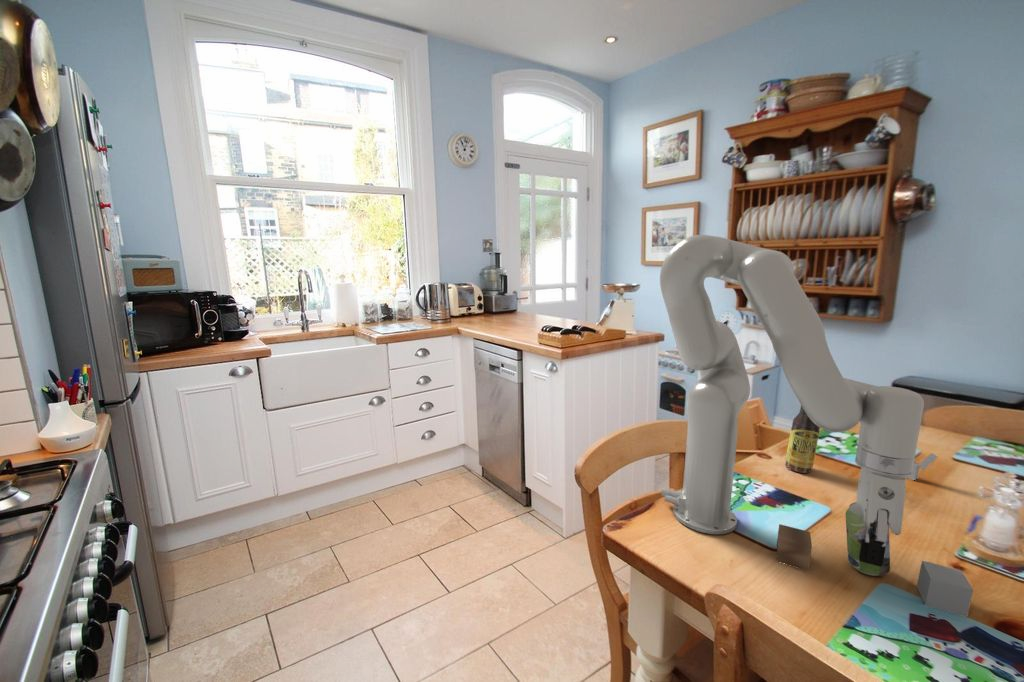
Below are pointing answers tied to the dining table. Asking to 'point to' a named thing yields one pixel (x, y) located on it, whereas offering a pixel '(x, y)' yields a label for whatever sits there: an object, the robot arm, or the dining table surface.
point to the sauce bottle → (802, 443)
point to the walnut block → (794, 547)
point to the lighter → (923, 465)
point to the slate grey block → (944, 588)
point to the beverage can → (854, 539)
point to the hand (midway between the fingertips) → (868, 554)
